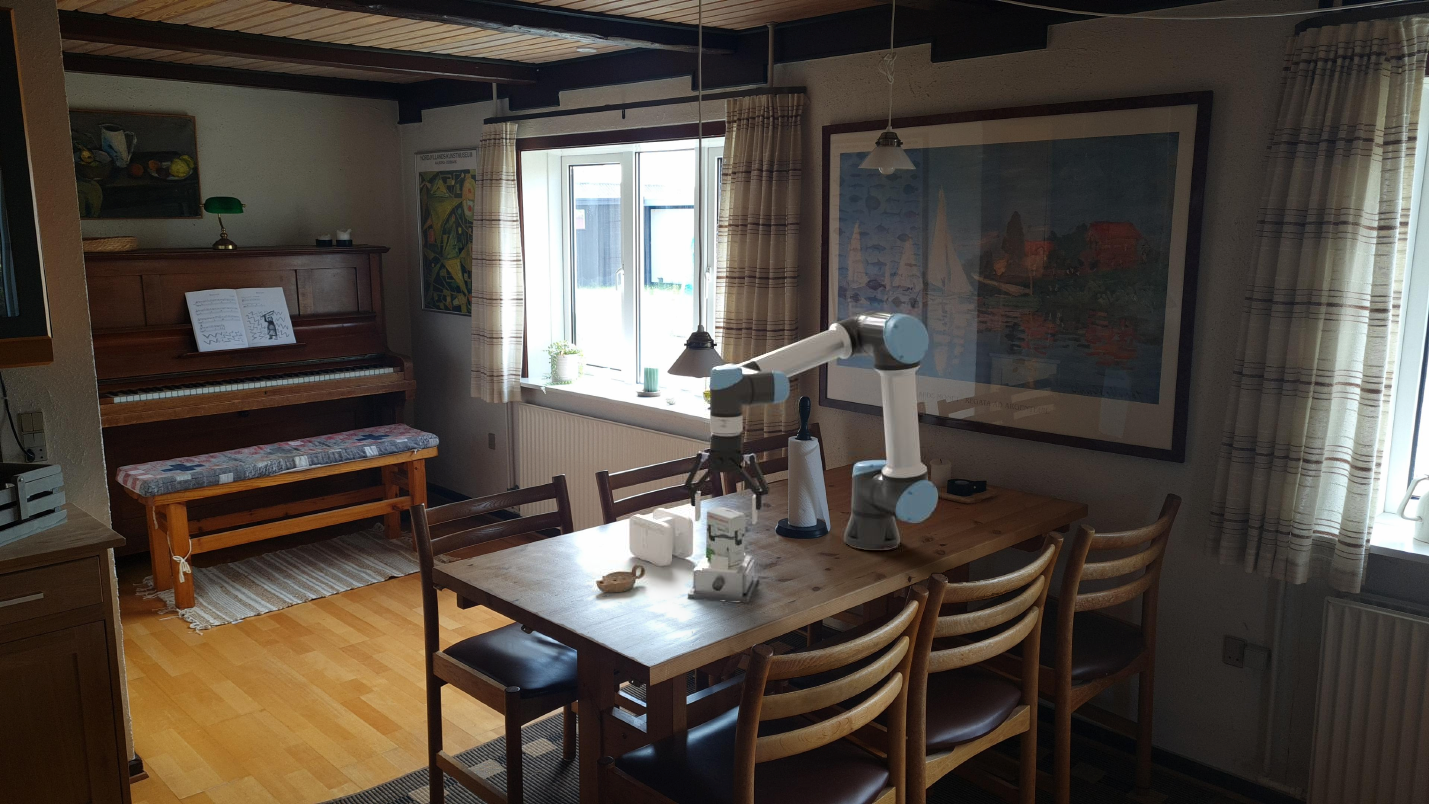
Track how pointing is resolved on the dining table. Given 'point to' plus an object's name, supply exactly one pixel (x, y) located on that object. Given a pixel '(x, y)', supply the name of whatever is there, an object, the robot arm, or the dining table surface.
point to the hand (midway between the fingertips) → (726, 521)
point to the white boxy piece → (723, 579)
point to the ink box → (726, 534)
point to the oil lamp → (620, 580)
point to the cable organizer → (661, 536)
